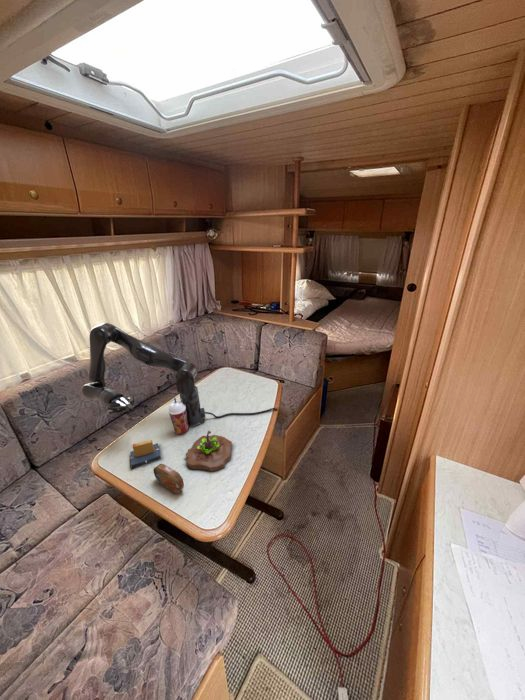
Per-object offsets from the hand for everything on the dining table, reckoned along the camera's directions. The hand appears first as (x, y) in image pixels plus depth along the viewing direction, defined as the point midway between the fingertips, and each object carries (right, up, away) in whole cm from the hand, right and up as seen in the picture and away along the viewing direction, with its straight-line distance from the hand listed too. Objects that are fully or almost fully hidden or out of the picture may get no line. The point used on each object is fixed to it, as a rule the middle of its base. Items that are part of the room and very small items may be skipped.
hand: (132, 409), depth 121 cm
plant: (+34, -21, +4) cm, 40 cm away
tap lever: (+5, -20, +2) cm, 21 cm away
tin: (+21, -28, -11) cm, 37 cm away
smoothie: (+16, -15, +19) cm, 29 cm away
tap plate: (+5, -22, +3) cm, 23 cm away
